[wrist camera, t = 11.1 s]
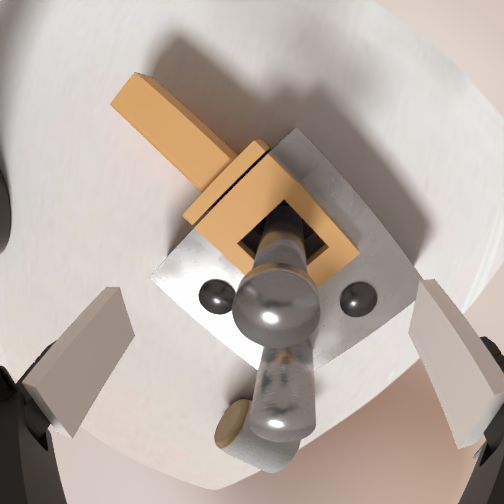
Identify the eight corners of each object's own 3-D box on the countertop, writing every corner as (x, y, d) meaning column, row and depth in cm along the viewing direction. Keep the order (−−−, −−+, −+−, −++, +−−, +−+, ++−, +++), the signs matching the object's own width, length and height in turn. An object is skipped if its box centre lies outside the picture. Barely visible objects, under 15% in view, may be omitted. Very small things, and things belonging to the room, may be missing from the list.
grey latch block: (166, 257, 28) (99, 334, 16) (295, 127, 22) (301, 122, 11) (284, 361, 31) (278, 458, 19) (413, 267, 25) (471, 351, 14)
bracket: (124, 124, 23) (91, 125, 19) (175, 62, 21) (150, 49, 16) (286, 281, 27) (285, 312, 22) (347, 230, 25) (360, 253, 20)
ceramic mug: (247, 384, 33) (236, 438, 26) (304, 410, 33) (302, 462, 26) (207, 420, 37) (193, 465, 30) (257, 442, 38) (250, 486, 31)
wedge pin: (282, 253, 26) (273, 360, 14) (251, 222, 25) (213, 310, 13) (316, 224, 25) (338, 316, 13) (284, 191, 24) (277, 256, 12)
